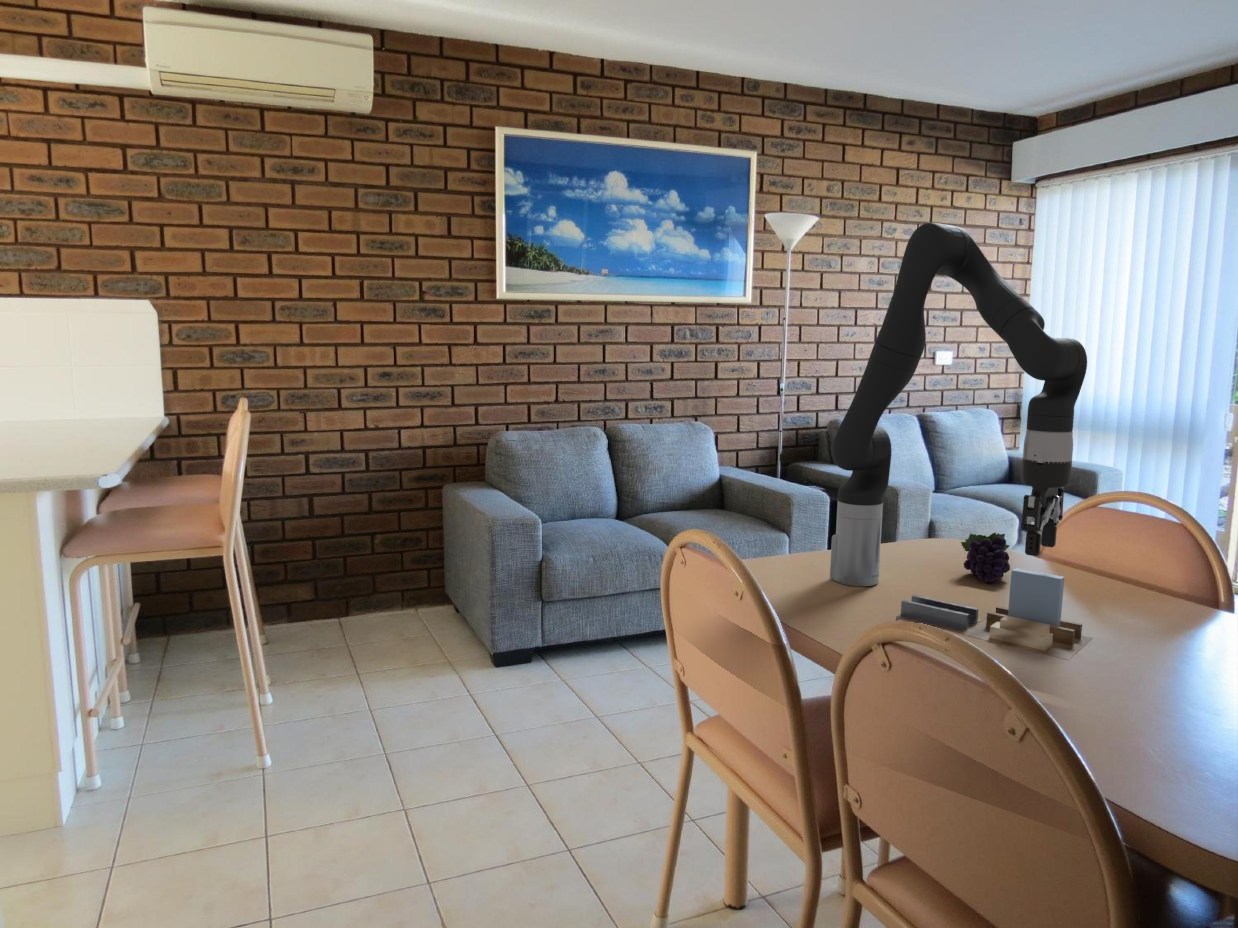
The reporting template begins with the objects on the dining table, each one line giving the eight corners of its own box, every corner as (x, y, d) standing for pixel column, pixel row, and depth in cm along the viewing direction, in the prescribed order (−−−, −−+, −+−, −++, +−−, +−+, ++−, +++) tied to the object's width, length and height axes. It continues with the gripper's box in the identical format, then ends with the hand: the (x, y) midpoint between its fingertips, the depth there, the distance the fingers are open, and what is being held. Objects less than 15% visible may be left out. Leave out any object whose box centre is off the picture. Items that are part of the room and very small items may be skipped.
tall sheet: (1006, 627, 154) (1011, 570, 152) (1010, 625, 155) (1015, 567, 154) (1055, 638, 148) (1061, 579, 147) (1059, 636, 150) (1064, 576, 148)
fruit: (973, 598, 185) (957, 563, 199) (1026, 593, 183) (1006, 558, 197) (971, 556, 181) (954, 523, 195) (1025, 550, 179) (1004, 518, 193)
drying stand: (896, 621, 160) (897, 602, 159) (916, 610, 166) (918, 592, 166) (961, 637, 152) (963, 617, 151) (980, 624, 158) (982, 606, 158)
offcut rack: (961, 639, 150) (962, 620, 150) (990, 621, 160) (992, 602, 160) (1068, 665, 139) (1070, 644, 138) (1092, 643, 149) (1094, 623, 149)
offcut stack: (989, 637, 149) (990, 617, 148) (996, 632, 151) (998, 613, 151) (1045, 650, 143) (1047, 630, 142) (1052, 645, 145) (1053, 624, 145)
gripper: (1037, 451, 155) (1030, 540, 157) (1009, 459, 145) (1003, 554, 147) (1083, 455, 150) (1075, 547, 152) (1058, 463, 140) (1050, 562, 142)
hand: (1040, 550), depth 150 cm, fingers open, 8 cm apart
